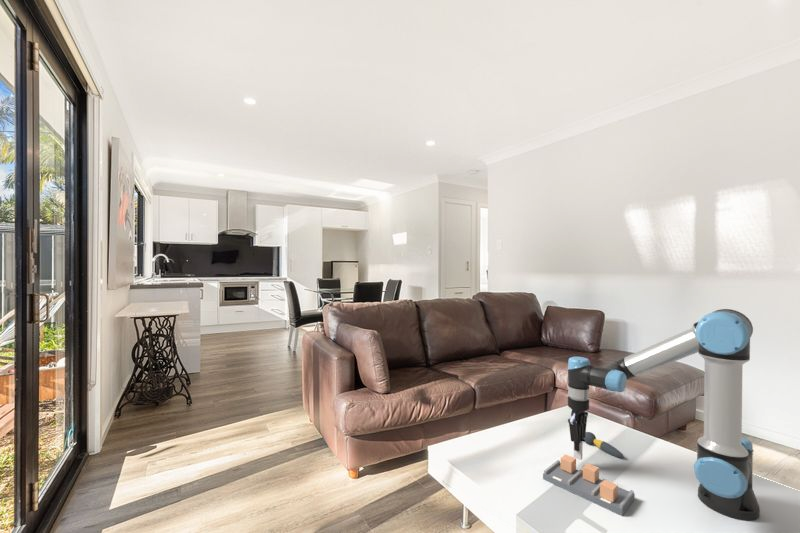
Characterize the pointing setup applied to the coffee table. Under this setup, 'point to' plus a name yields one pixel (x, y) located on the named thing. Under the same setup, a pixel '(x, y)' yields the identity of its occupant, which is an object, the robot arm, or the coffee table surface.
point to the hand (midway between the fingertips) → (578, 457)
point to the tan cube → (568, 463)
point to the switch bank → (587, 488)
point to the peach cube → (590, 473)
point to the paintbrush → (602, 445)
